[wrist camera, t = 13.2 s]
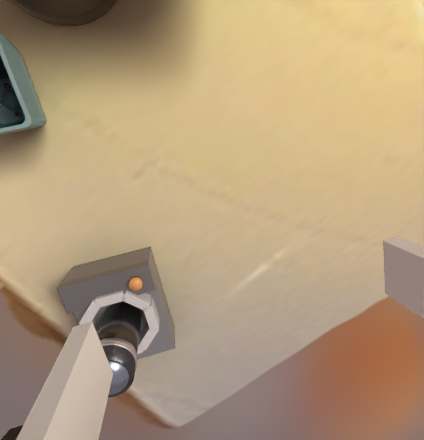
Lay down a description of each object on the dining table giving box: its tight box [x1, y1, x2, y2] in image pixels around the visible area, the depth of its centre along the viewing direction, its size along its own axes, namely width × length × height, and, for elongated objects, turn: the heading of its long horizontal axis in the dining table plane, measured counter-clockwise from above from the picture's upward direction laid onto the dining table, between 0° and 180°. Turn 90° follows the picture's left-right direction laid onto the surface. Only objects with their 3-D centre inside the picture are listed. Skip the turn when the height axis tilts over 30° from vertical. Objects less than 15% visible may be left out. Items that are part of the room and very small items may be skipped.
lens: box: [97, 301, 142, 397], centre depth 32 cm, size 5×5×10 cm
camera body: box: [57, 247, 175, 359], centre depth 39 cm, size 14×11×7 cm
